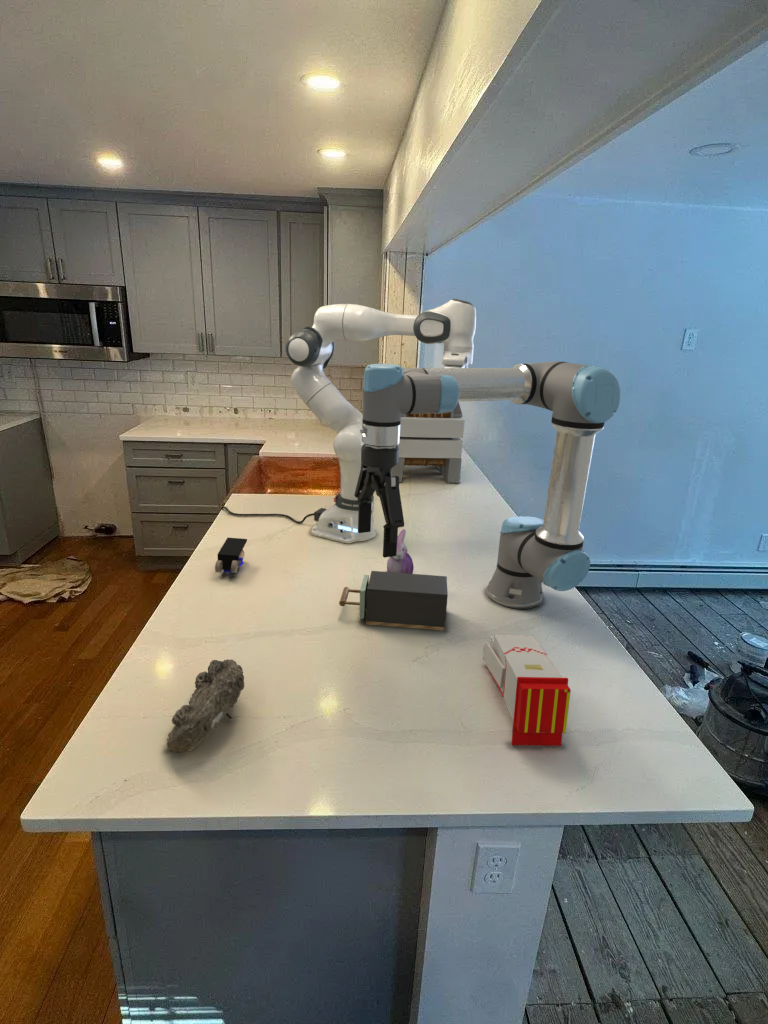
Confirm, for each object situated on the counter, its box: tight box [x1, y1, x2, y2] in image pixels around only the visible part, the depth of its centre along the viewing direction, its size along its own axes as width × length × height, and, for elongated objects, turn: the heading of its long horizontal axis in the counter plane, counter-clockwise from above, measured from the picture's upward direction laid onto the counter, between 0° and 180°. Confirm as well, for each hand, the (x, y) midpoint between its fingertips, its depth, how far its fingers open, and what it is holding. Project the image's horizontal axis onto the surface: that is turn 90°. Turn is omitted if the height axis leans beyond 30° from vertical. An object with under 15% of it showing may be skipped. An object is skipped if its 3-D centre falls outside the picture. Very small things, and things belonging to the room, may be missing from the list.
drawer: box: [338, 574, 370, 620], centre depth 145 cm, size 24×9×8 cm, turn 86°
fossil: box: [166, 658, 245, 754], centre depth 106 cm, size 22×10×15 cm
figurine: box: [386, 528, 415, 574], centre depth 164 cm, size 9×10×15 cm
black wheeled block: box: [214, 537, 248, 578], centre depth 166 cm, size 7×8×15 cm
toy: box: [482, 634, 572, 747], centre depth 115 cm, size 12×13×30 cm
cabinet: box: [365, 570, 449, 631], centre depth 145 cm, size 20×10×10 cm, turn 86°
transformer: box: [391, 402, 465, 484], centre depth 268 cm, size 34×33×41 cm
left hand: (454, 403), depth 174 cm, fingers open, 8 cm apart
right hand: (376, 543), depth 120 cm, fingers open, 13 cm apart
